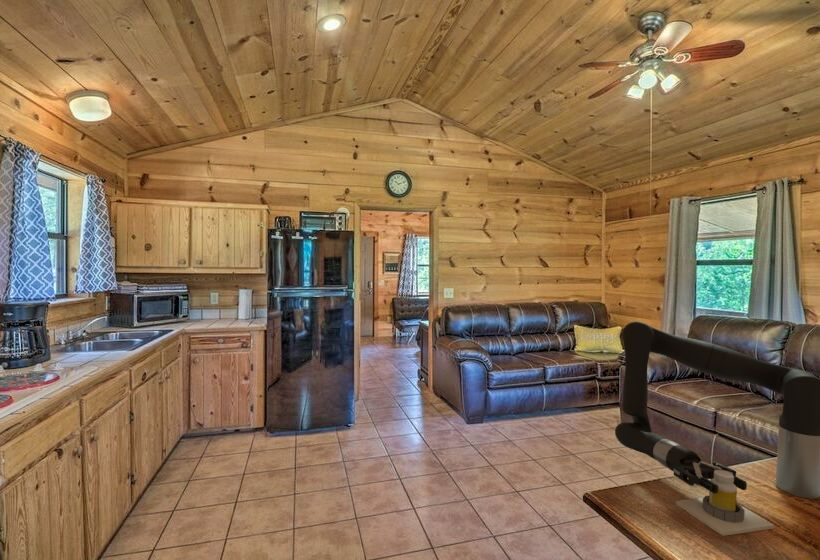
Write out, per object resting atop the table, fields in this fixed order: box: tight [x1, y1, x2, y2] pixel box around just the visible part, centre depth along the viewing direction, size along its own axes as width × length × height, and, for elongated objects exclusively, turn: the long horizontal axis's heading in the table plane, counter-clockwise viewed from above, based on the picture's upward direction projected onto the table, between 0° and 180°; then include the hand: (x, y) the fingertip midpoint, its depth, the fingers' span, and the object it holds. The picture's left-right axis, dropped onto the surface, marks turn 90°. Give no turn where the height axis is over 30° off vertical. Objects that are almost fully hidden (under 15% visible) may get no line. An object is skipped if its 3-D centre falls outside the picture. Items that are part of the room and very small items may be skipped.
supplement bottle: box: [708, 470, 738, 513], centre depth 104 cm, size 5×5×10 cm
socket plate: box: [675, 495, 775, 537], centre depth 104 cm, size 15×13×3 cm
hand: (731, 488), depth 102 cm, fingers open, 8 cm apart
